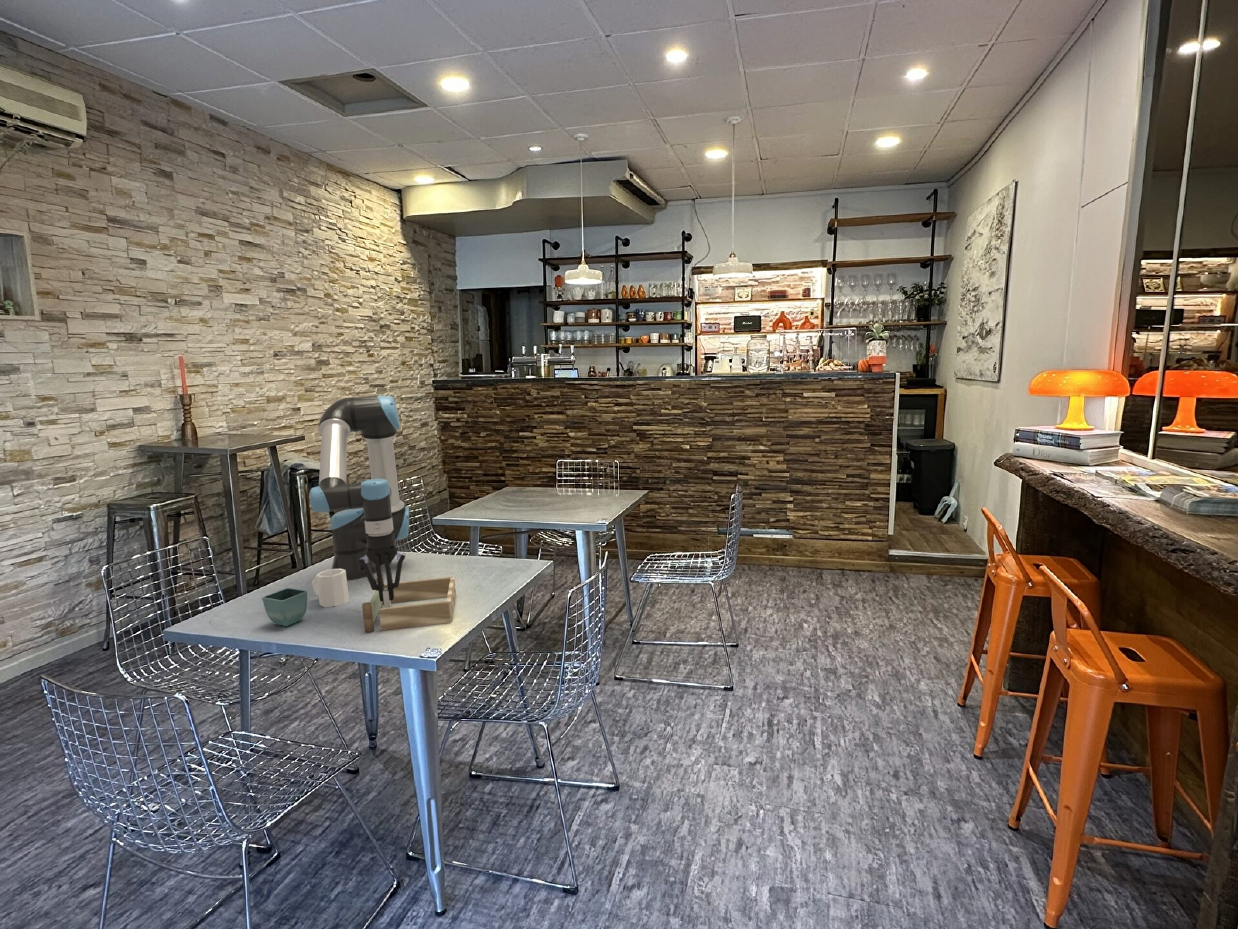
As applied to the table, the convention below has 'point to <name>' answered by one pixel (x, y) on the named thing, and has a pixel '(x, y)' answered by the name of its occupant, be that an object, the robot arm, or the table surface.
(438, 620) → the wooden u-shaped enclosure
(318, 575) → the mug
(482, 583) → the table surface
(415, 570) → the table surface
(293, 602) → the flower pot
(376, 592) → the gate
